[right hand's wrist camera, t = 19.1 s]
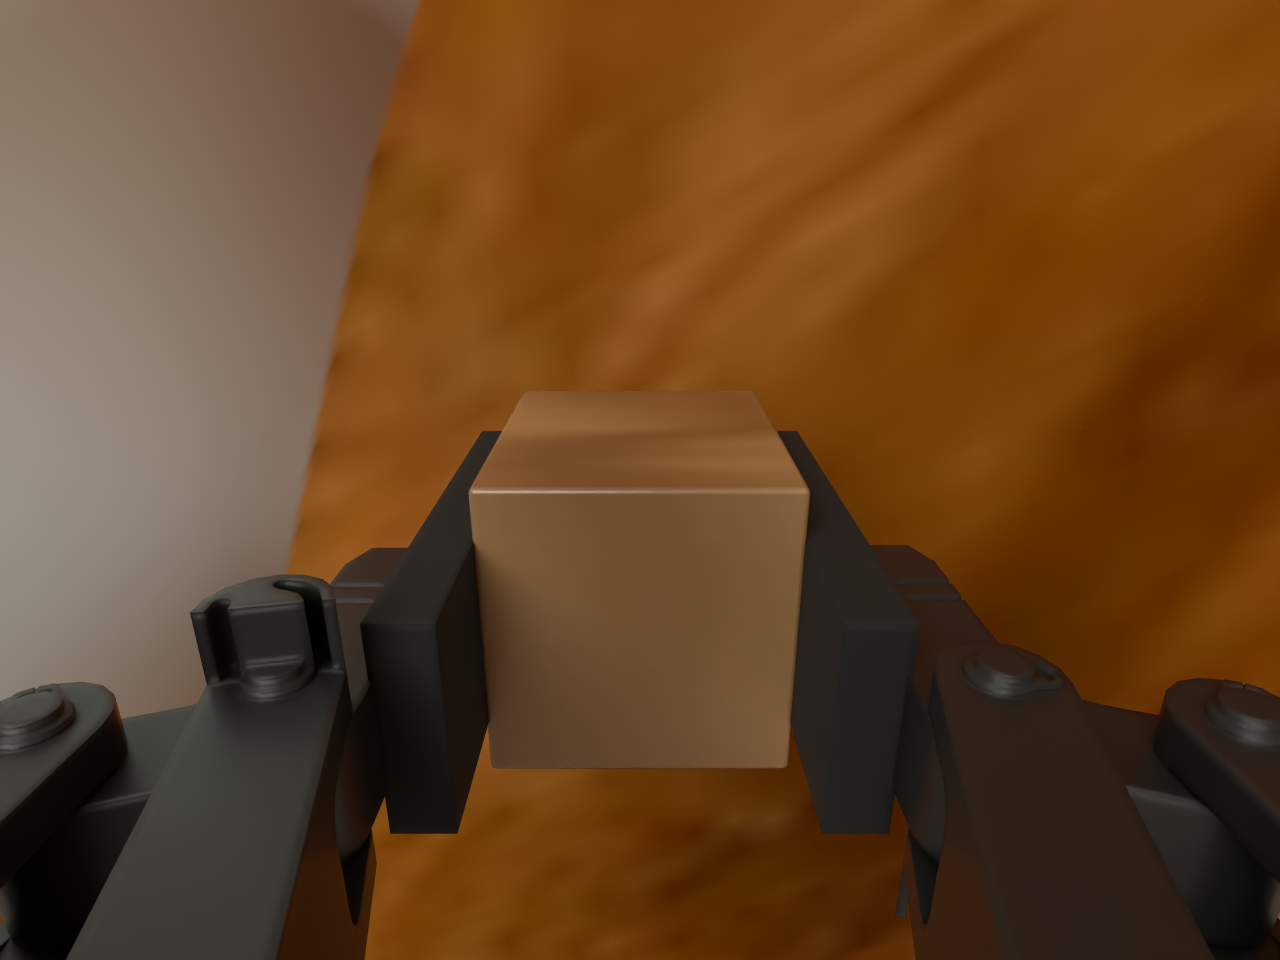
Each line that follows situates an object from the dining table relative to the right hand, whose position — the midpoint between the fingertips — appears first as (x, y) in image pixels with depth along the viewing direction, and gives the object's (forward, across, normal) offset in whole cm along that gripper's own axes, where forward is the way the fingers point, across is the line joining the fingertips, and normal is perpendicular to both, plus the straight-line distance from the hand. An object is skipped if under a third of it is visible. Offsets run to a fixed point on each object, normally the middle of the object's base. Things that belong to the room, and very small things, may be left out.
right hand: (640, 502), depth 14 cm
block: (0, 0, 0) cm, 0 cm away
